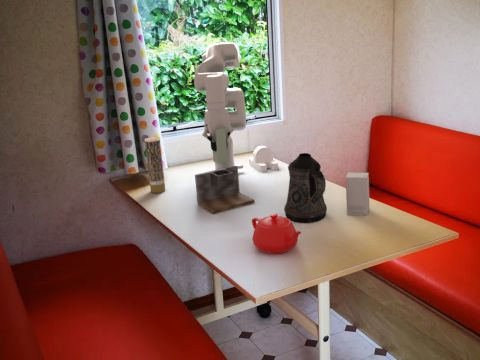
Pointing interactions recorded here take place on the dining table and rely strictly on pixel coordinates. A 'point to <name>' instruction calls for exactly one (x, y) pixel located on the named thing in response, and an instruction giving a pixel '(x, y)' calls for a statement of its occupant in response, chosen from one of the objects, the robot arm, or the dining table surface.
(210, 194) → the bracket stand
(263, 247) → the teapot
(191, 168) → the dining table surface
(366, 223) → the dining table surface
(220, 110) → the robot arm
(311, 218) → the beer stein
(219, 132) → the rail post
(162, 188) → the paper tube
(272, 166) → the white slotted holder
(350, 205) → the skincare box
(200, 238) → the dining table surface
